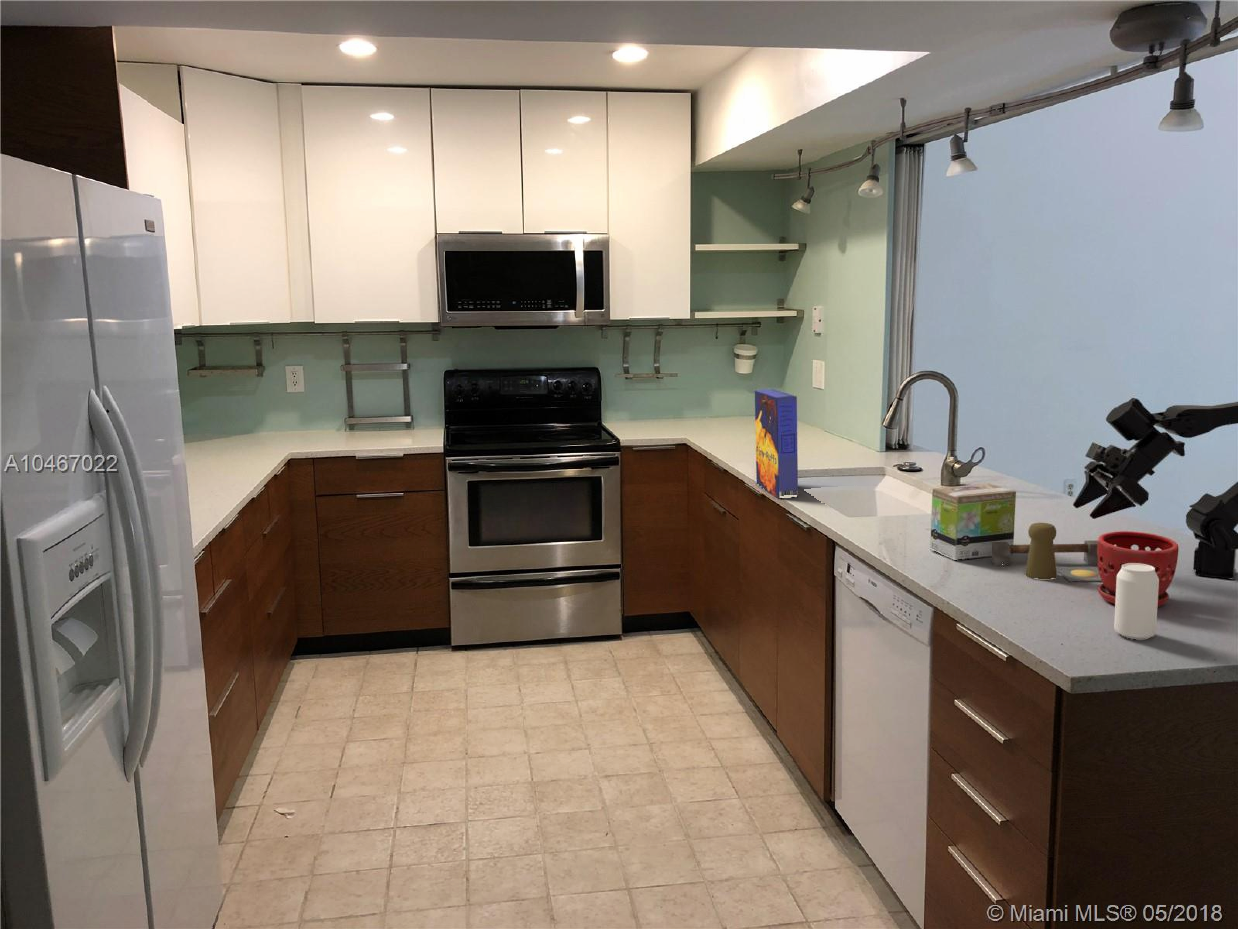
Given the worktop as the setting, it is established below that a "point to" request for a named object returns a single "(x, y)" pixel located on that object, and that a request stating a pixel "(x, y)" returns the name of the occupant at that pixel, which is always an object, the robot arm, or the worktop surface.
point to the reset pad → (1080, 574)
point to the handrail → (1089, 548)
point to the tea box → (971, 519)
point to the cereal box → (776, 442)
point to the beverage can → (1136, 601)
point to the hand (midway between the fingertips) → (1082, 511)
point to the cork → (1041, 552)
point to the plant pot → (1135, 559)
